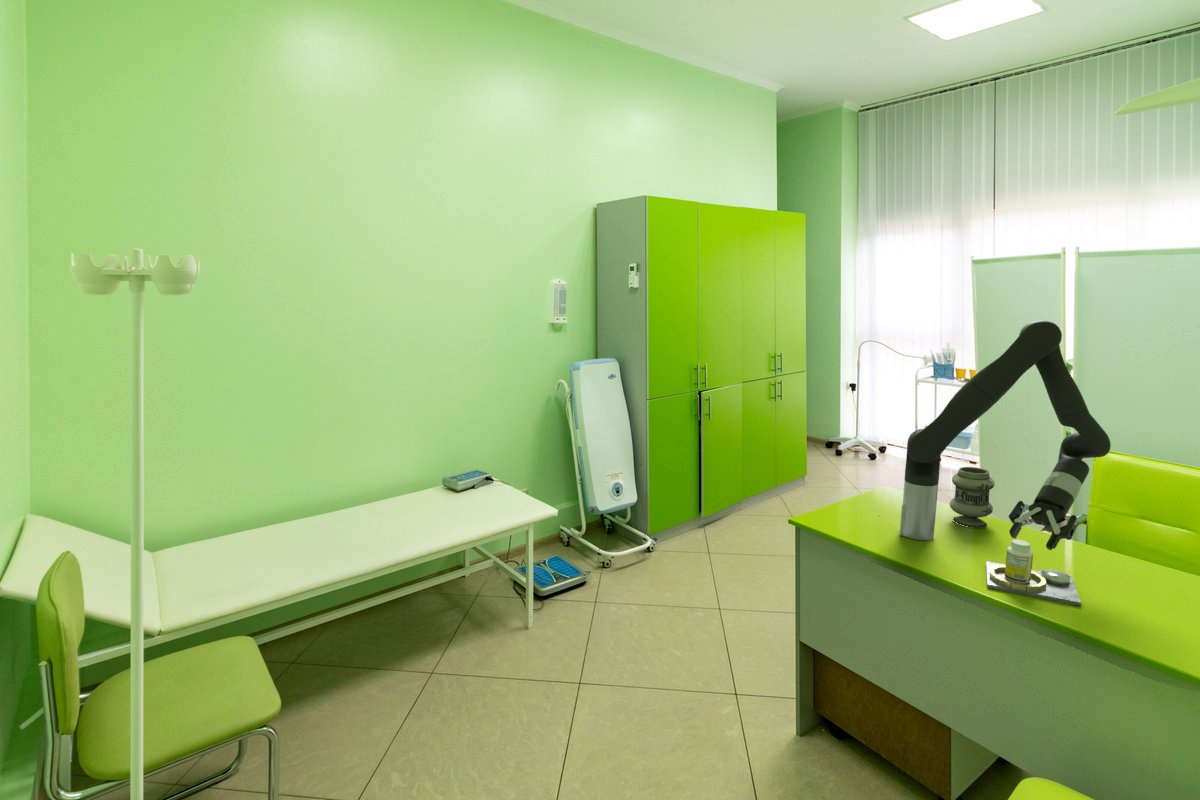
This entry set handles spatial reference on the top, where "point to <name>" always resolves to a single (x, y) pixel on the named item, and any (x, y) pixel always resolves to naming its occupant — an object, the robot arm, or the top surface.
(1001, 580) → the carrier plate
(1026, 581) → the supplement bottle
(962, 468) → the apothecary jar
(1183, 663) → the top surface
